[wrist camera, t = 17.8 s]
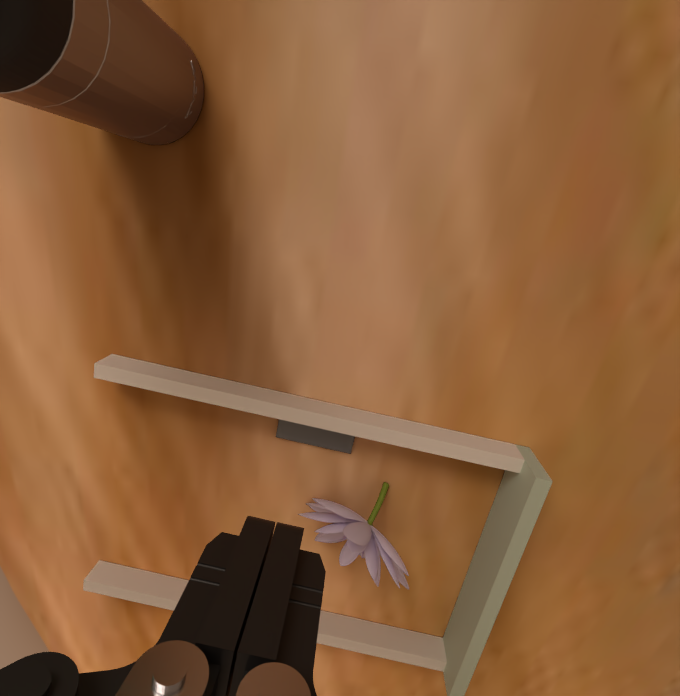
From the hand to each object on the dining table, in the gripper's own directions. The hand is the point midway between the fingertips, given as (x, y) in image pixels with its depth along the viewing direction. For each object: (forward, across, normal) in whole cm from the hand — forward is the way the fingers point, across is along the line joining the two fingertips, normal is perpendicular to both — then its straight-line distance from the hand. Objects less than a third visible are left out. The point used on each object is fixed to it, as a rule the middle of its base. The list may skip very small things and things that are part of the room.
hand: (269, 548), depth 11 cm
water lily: (+32, -6, +22) cm, 39 cm away
